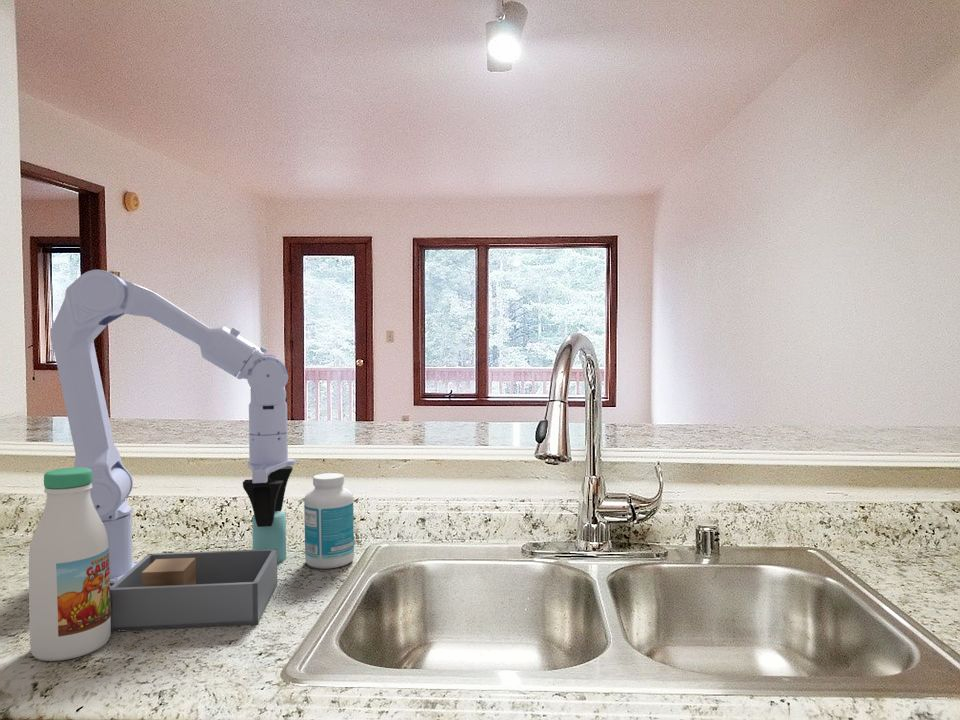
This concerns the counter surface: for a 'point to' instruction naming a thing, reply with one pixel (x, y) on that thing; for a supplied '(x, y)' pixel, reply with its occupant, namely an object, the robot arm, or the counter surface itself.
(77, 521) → the milk bottle
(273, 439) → the robot arm
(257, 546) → the teal cylinder
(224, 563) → the tote
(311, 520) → the pill bottle
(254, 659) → the counter surface
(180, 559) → the walnut cube
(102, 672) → the counter surface
